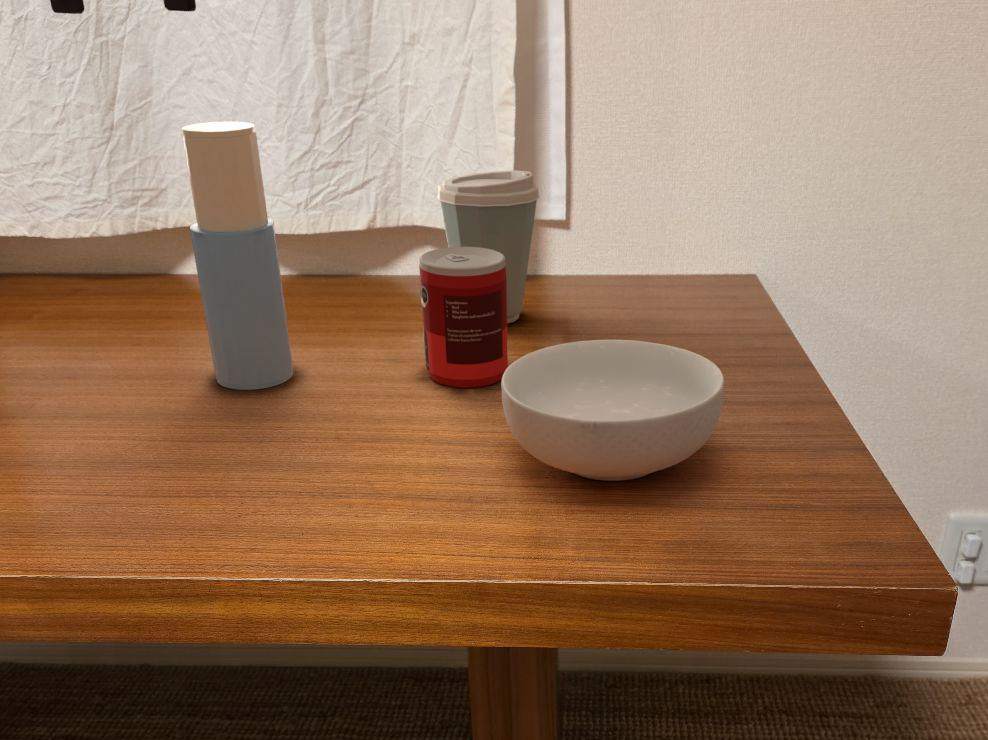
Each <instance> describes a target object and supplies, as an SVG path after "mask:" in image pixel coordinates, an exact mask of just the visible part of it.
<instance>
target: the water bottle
mask: <svg viewBox="0 0 988 740" xmlns="http://www.w3.org/2000/svg"><path fill="white" fill-rule="evenodd" d="M189 233H190V239H191V244H192V250H193V256H194V261H195V267H196V268H195V269H196V272H197V273H196V274H197V279H198V283H199V291H200V296H201V301H202V307H203V312H204V318H205V325H206V330H207V335H208V336H207V337H208V341H209V348H210V352H211V360H212V364H213V369H214V375H215V378H216V382H217V383H218V384H219V385H220V386H222V387H223V388H226V389H231V390H240V391H241V390H242V391H252V390H261V389H267V388H272V387H276V386H278V385H281V384H284V383H285V382H287V381H289V380H290V379H292V377H293V375H294V365H293V364H294V363H293V356H292V349H291V342H290V335H289V327H288V319H287V312H286V311H287V310H286V304H285V298H284V297H285V296H284V289H283V281H282V275H281V268H280V259H279V253H278V245H277V238H276V237H277V236H276V230H275V222H274V221H273V220H272V219H270V218H269V217H268V224H266V225H265V226H263V227H261V228H257V229H253V230H248V231H239V232H210V231H205V230H200V228H199V227H198V224H197V222H194V223H192V224H191V225H190V227H189Z"/></svg>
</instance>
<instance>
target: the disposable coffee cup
mask: <svg viewBox="0 0 988 740" xmlns="http://www.w3.org/2000/svg"><path fill="white" fill-rule="evenodd" d="M436 196H437V200H438V201H439V202H440V208H441V214H442V219H443V225H444V230H445V231H444V232H445V236H446V242H447V248H449V247H479V248H486V249H491V250H495V251H497V252H500V253H501V254H503V255H504V256H505V262H506V284H507V324H511V323H514V322H516V321H517V320H518V319H520V314H521V312H522V311H523V306H524V305H523V304H524V297H525V291H526V283H527V277H528V276H527V275H528V268H529V267H528V266H529V260H530V252H531V246H532V237H533V231H534V230H533V229H534V223H535V217H536V208H537V201H538V200H539V199H540V196H539V187H538V186H537V185H536V183H534V174H533V173H532V172H531V171H529V170H497V171H496V170H494V171H486V172H485V171H484V172H475V173H469V174H468V173H467V174H462V175H457V176H453V177H449V178H447V179H444V180H442V184H439V186H437V195H436Z"/></svg>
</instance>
